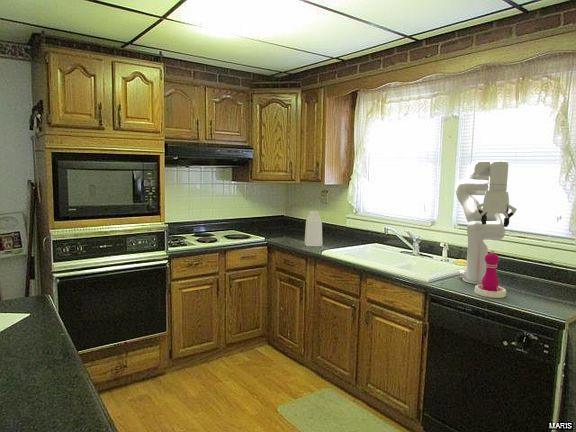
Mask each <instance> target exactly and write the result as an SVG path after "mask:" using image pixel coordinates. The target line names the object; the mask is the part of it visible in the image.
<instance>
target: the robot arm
mask: <svg viewBox="0 0 576 432" xmlns="http://www.w3.org/2000/svg"><path fill="white" fill-rule="evenodd" d="M508 173H509V162H508V161H506V160H475V161H474V160H473V161H472V162H471V164H470V166H468V167H467V169H466V176H467V178H468V179H462V180H459V181H458V182H457V183H456V185H455V193H456V198H457V201H458V202H459V203H460V205H461V206H462V208H463V212H464V217H465V219H466V221H467V222H468V224H467V225H466V233H467V251H466V252H467V254H466V266H465V267H466V269H465V271H464V270H461V269H460V270H459V271H458V274H459V275H461V276H463V277H462V281H463V282H465V283H468V284H475V285H479V284H482V279H483V277H484V275H485V273H486V266H485V265H486V261H485V256H486V255H487V254H489V248H488V246H487V244H486V243H485V242H484V241H486V240H488V241H500V240H502V239H504V237H505V234H506V229H505V228H507V227H509V225H510V218H511V217H513V216H514V215H515V213H516V212H517V211H518V210H517V209H518V208H516V207H514V206H512V205H511V204H510V197H509V191H507V190H508V189H507V188H508ZM474 196H484V197H483V203H480V201H479V200H478V199H477V198H475V197H474ZM509 210H511V212H509ZM500 214H503V216H504V218H503V220H502V218H501V215H500Z"/></svg>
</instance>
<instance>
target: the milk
mask: <svg viewBox="0 0 576 432" xmlns="http://www.w3.org/2000/svg"><path fill="white" fill-rule="evenodd" d="M304 231H305V232H304V243H305V245H306V246H322V247H323V222H322V219H321V215H320V213H319V211H318V210H316V211H315V210H309V212H308V215H307V217H306V220H305V230H304ZM305 245H304V246H305Z"/></svg>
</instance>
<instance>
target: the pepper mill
mask: <svg viewBox="0 0 576 432" xmlns="http://www.w3.org/2000/svg"><path fill="white" fill-rule="evenodd" d="M485 261H486V265H485V266H486V273H485V275H484V277H483V279H482V285H483V286H484V287H483V288H482V290H486V291H494V292H497V289H496V288H497V287H498V286H499V287H500V281H499V278H498V276H497V275H498V274H497V268H498V263H499V262H500V258H499V255H498V254H496V253H495V250H493V249H491V250H489V252H488V254H487V255H486V256H485Z"/></svg>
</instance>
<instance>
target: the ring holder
mask: <svg viewBox="0 0 576 432" xmlns="http://www.w3.org/2000/svg"><path fill="white" fill-rule="evenodd" d="M483 287H484V286H483V285H482V284H475V285H474V289H473V291H474V294H476V295H478V296H480V297H485V298H492V299H502V298H503V299H504V298H505V297H506V296H507V295H506V294H507V289H506V288H505V287H502V286H500V285H499V286H498V287H497V288H496V289H497V292H494V291H486V290H482V288H483Z"/></svg>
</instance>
